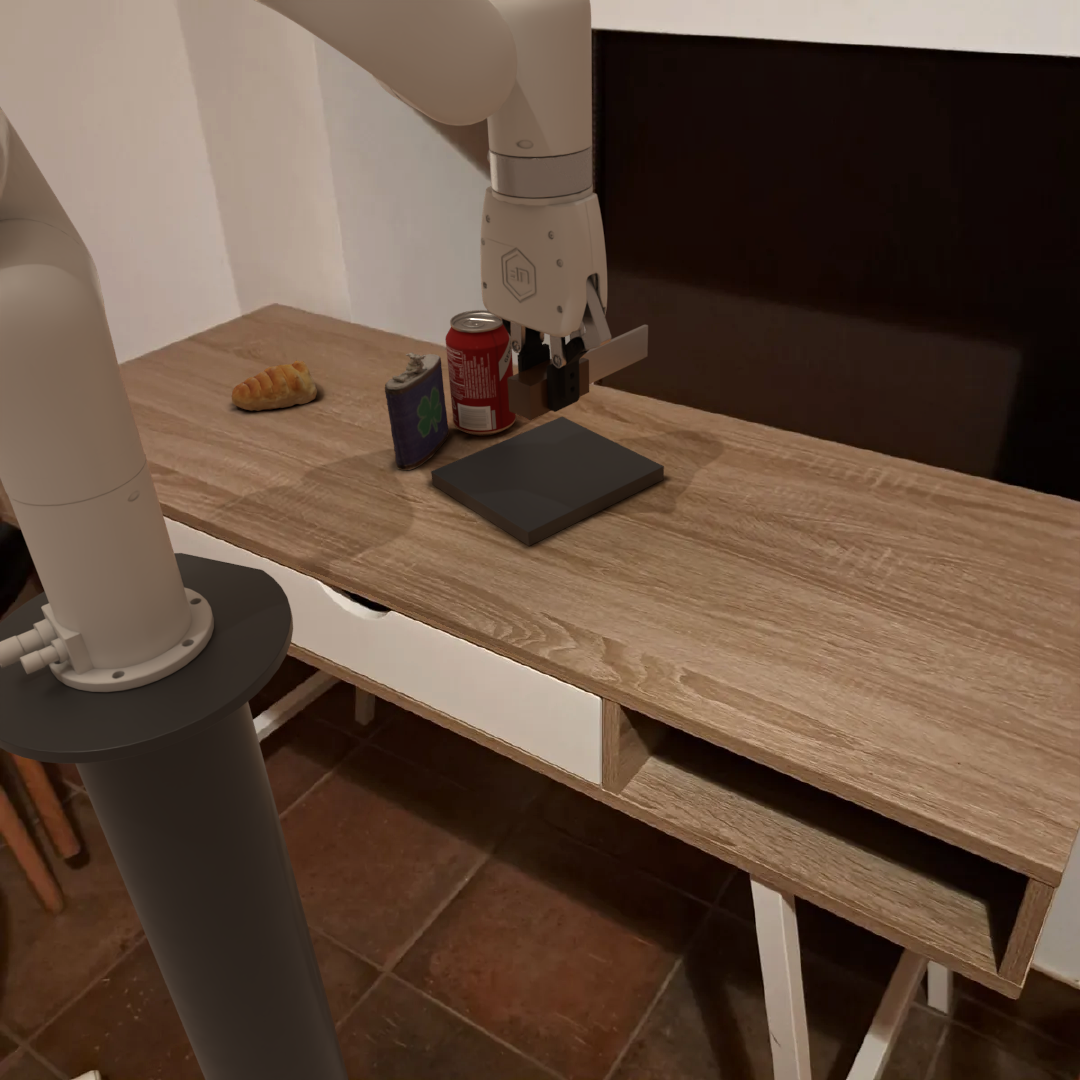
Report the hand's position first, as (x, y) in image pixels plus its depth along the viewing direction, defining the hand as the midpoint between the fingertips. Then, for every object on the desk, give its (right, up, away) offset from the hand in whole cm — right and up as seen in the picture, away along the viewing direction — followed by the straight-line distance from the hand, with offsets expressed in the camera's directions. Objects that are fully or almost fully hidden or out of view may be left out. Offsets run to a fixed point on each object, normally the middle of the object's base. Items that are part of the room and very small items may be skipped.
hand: (549, 398), depth 84 cm
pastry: (-31, +4, +33) cm, 45 cm away
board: (0, -6, +14) cm, 16 cm away
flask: (-13, -3, +21) cm, 25 cm away
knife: (+3, +1, +3) cm, 4 cm away
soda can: (-7, 0, +25) cm, 26 cm away
